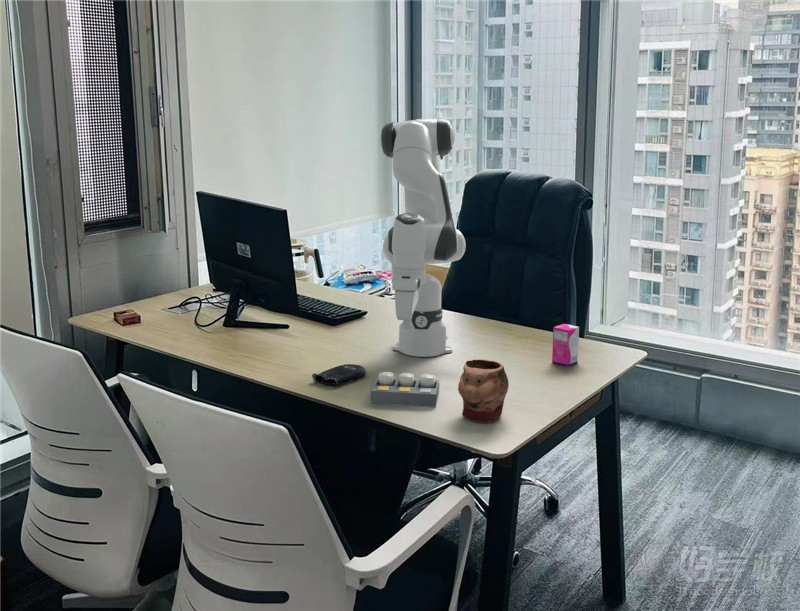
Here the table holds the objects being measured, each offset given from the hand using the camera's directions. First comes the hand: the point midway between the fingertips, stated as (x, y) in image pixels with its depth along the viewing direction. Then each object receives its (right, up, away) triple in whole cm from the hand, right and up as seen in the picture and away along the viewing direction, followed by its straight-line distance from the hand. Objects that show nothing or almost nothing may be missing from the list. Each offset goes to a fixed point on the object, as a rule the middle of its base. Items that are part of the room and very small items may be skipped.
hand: (407, 327), depth 224 cm
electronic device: (-18, -15, +18) cm, 30 cm away
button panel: (0, -19, +3) cm, 19 cm away
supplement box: (+48, -12, +34) cm, 60 cm away
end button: (-6, -15, +5) cm, 17 cm away
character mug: (+19, -22, -7) cm, 30 cm away
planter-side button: (+5, -16, +3) cm, 17 cm away
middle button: (0, -15, +4) cm, 16 cm away
